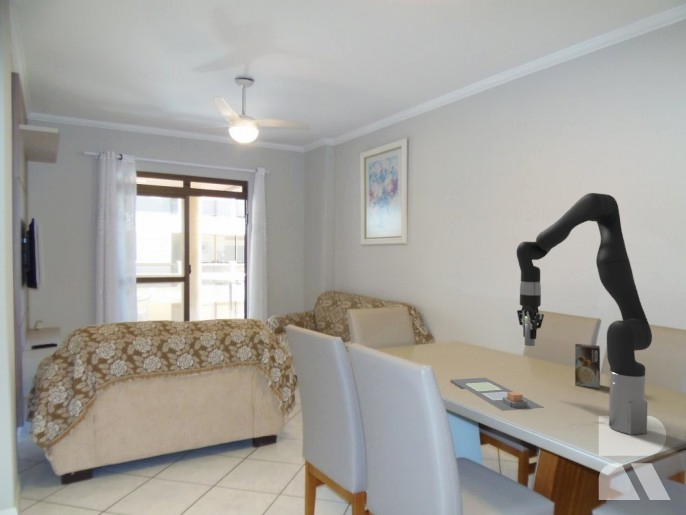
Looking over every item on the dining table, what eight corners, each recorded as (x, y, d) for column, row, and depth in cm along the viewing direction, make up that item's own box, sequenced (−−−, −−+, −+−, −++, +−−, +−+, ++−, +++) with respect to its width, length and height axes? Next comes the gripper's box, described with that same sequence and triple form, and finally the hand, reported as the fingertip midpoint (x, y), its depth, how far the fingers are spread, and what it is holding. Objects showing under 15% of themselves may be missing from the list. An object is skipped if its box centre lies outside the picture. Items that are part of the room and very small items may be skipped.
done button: (522, 401, 162) (522, 394, 162) (513, 402, 162) (513, 395, 162) (516, 398, 166) (516, 391, 166) (507, 399, 165) (507, 392, 165)
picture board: (544, 410, 161) (544, 402, 161) (502, 413, 157) (502, 405, 157) (485, 380, 198) (485, 373, 198) (450, 382, 194) (450, 375, 194)
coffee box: (599, 384, 192) (600, 345, 192) (600, 388, 187) (600, 348, 187) (574, 381, 197) (575, 343, 196) (574, 385, 191) (574, 345, 191)
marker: (537, 345, 180) (537, 317, 180) (528, 346, 180) (528, 317, 179) (530, 343, 184) (531, 315, 184) (522, 344, 183) (522, 315, 183)
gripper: (550, 295, 176) (550, 341, 176) (527, 291, 189) (527, 334, 190) (533, 295, 174) (532, 342, 174) (510, 292, 188) (510, 335, 188)
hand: (529, 337), depth 182 cm, fingers closed on marker, 3 cm apart
